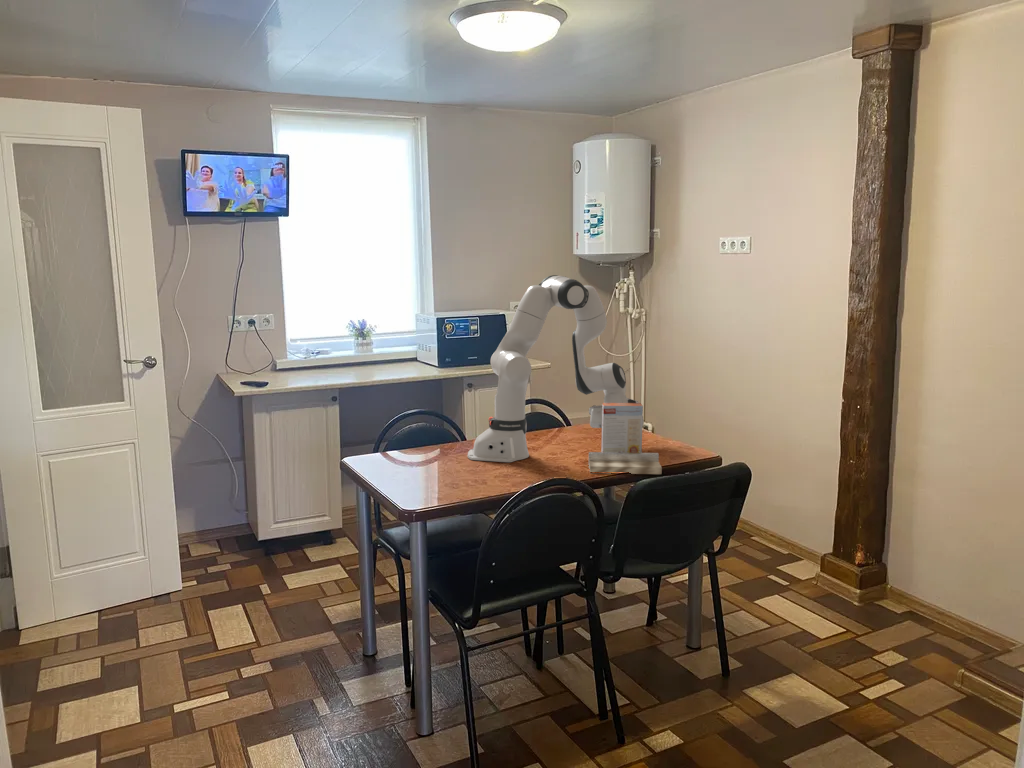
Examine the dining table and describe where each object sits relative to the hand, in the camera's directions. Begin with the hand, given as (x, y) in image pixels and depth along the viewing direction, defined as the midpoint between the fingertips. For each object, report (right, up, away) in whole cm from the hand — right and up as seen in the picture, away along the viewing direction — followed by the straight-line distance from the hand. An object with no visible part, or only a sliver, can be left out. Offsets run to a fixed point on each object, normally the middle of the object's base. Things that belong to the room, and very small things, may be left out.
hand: (617, 436), depth 291 cm
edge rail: (-1, -9, -21) cm, 23 cm away
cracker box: (-1, -8, -13) cm, 15 cm away
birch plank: (-1, -10, -25) cm, 27 cm away
